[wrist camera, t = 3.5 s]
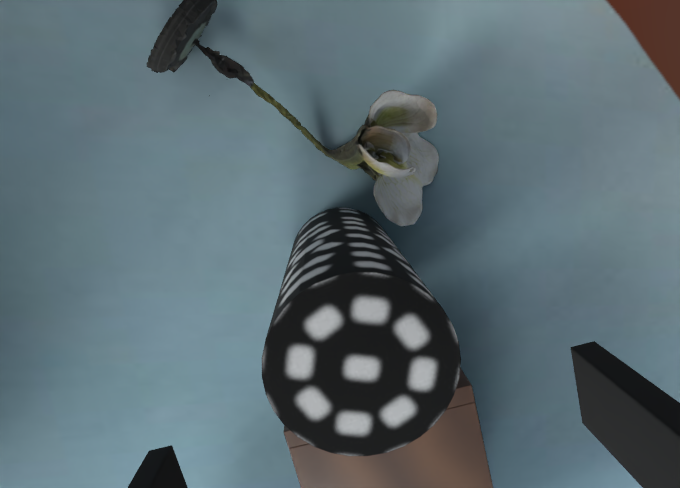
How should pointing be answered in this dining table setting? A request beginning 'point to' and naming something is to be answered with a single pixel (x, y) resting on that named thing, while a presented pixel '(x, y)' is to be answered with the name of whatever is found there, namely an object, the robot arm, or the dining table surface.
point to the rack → (407, 456)
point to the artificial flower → (361, 152)
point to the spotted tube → (357, 341)
